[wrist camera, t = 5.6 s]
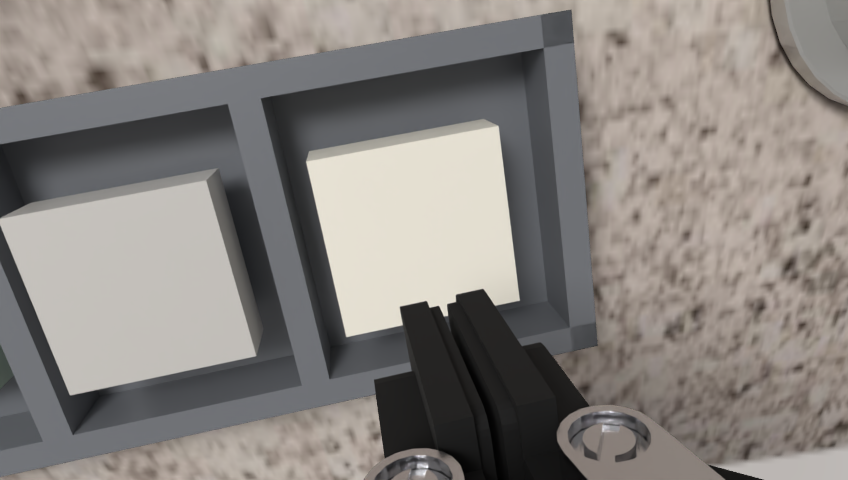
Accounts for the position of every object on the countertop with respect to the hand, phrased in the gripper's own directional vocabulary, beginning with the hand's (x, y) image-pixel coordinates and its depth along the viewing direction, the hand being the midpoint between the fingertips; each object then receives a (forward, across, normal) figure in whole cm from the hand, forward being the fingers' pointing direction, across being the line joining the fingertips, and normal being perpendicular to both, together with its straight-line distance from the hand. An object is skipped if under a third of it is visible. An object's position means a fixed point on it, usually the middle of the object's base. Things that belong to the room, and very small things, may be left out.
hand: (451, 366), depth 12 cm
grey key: (+10, +8, 0) cm, 13 cm away
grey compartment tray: (+14, +8, 0) cm, 16 cm away
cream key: (+10, -1, 0) cm, 10 cm away
